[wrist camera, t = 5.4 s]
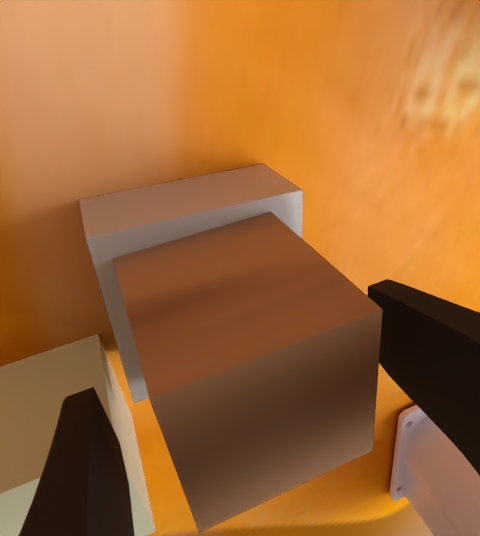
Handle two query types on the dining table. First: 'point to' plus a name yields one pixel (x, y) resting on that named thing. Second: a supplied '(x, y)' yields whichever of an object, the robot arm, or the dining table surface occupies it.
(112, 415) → the sage block
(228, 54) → the dining table surface
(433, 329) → the robot arm
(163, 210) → the stone slab
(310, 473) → the walnut block
